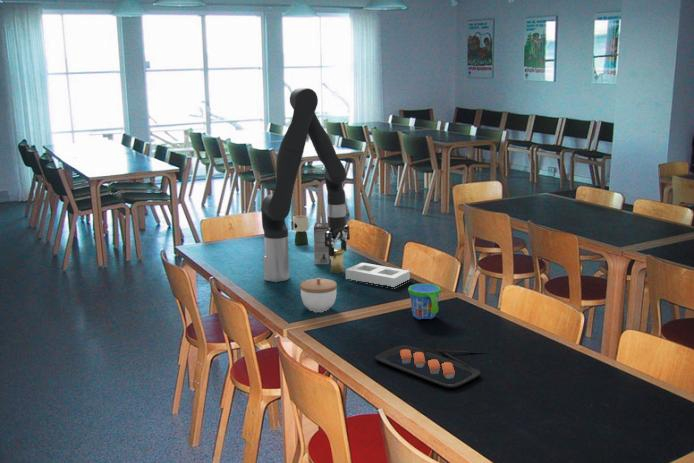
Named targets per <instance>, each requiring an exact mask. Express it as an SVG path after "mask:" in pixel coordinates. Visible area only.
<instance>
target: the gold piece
mask: <svg viewBox="0 0 694 463" xmlns="http://www.w3.org/2000/svg"><path fill="white" fill-rule="evenodd" d="M344 253H345V252H344V249H341V247H340V248H337V247H334V256H333V257H332V256H330V272H331V273H332V274H341V272H342V273H344Z"/></svg>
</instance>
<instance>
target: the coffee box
mask: <svg viewBox="0 0 694 463" xmlns="http://www.w3.org/2000/svg"><path fill="white" fill-rule="evenodd" d="M325 232H330V227H329V226H328V222H315V223H314V226H313V245H314V246H313V247H314V248H313V249H314V250H313V254H314V265H329V264H330V262H331V256H329V248H328V247H327V246H325ZM328 242H329V241H328Z"/></svg>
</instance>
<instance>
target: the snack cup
mask: <svg viewBox="0 0 694 463" xmlns="http://www.w3.org/2000/svg"><path fill="white" fill-rule="evenodd" d="M407 290H408V293H409V297H410V306H411V313H412V317H414V318H415V319H417V320H421V319H430V320H432V319H434V318H435V317H436V316H437V314H438V313H439V298H440V296H439V295H440V294H441V292H442V289H441V287H440V286H439V285H436V284H432V283H415V284H412V285H410V286H408V289H407Z"/></svg>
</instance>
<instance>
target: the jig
mask: <svg viewBox="0 0 694 463" xmlns="http://www.w3.org/2000/svg"><path fill="white" fill-rule="evenodd" d="M347 279H351V280H350V281H352V280H356V281H355V282H357V281H362V282H369V283H374V284H380V285H387V286H391V287H395V286H397V285H399V284H401V283H403V282H405V281H407V280H409V279H410V280H411V271H410V270H408V269H401V268H396V267H391V266H390V267H388V266H385V265H378V264H372V263H368V262H360V263H358V264H356V265H353V266H350V267H348V268H346V269H345V280H347ZM362 282H361V283H362Z"/></svg>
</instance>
